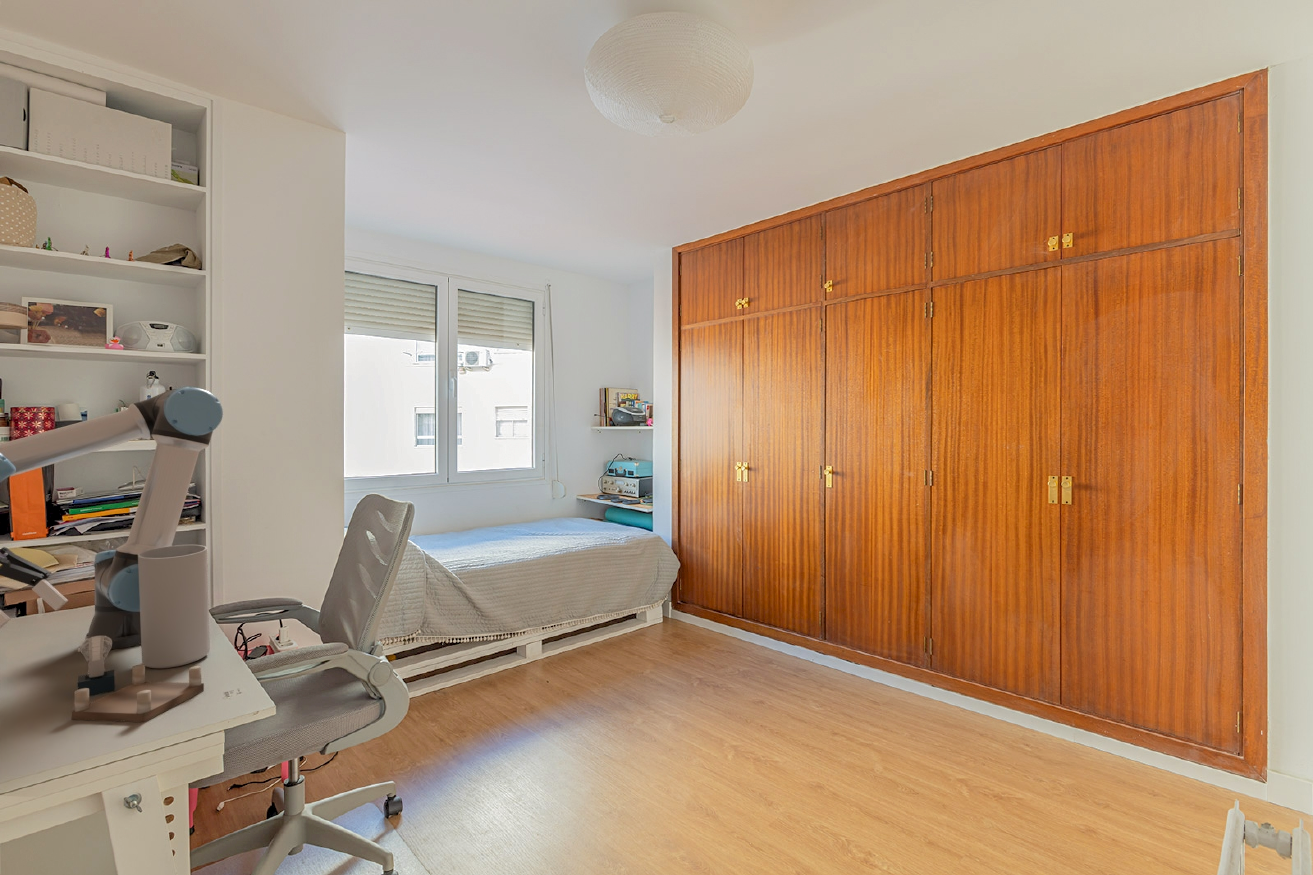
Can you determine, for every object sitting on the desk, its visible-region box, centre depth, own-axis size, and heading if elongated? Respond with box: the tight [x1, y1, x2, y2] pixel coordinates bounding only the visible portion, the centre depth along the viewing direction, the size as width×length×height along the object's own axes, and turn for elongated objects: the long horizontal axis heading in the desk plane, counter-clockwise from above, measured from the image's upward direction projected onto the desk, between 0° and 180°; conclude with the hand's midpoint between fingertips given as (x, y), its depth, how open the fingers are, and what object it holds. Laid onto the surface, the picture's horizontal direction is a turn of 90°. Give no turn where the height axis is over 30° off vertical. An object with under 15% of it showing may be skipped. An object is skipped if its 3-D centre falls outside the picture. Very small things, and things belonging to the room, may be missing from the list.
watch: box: [77, 636, 116, 697], centre depth 128 cm, size 6×8×11 cm
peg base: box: [70, 663, 205, 723], centre depth 122 cm, size 14×14×5 cm
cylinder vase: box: [138, 544, 211, 669], centre depth 145 cm, size 12×12×25 cm
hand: (34, 614), depth 127 cm, fingers open, 13 cm apart
